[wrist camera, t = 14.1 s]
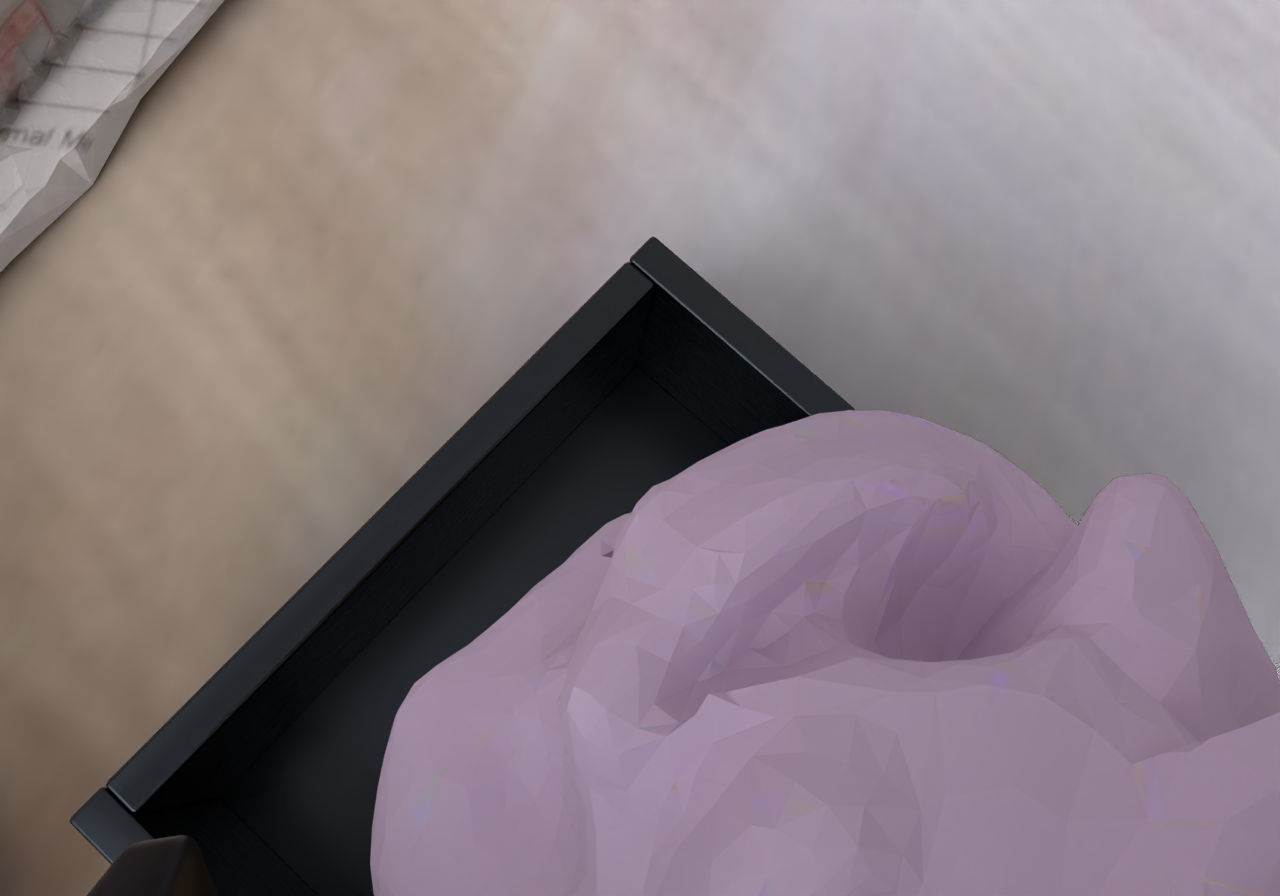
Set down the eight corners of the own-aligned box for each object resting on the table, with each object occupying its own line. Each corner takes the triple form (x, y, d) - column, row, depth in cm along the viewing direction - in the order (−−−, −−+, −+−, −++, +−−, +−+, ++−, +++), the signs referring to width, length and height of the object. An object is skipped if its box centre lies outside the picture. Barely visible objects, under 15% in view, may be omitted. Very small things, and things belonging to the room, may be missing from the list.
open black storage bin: (687, 1307, 18) (732, 1497, 13) (177, 798, 19) (65, 821, 14) (1100, 743, 20) (1250, 747, 16) (631, 333, 22) (653, 232, 17)
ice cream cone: (670, 1077, 18) (1201, 2581, 3) (393, 814, 19) (-152, 1141, 4) (914, 757, 20) (1985, 858, 5) (651, 525, 20) (926, 14, 6)
